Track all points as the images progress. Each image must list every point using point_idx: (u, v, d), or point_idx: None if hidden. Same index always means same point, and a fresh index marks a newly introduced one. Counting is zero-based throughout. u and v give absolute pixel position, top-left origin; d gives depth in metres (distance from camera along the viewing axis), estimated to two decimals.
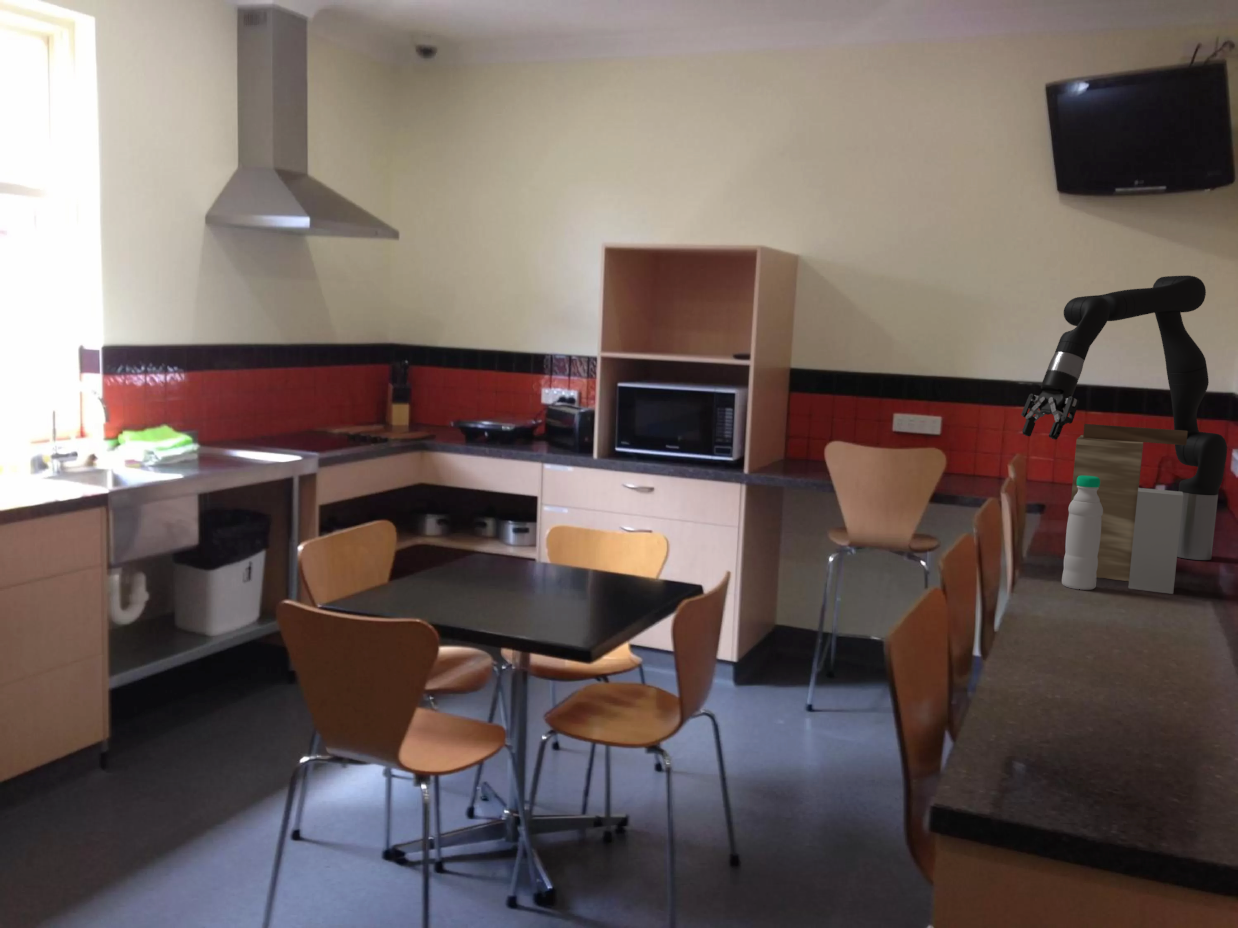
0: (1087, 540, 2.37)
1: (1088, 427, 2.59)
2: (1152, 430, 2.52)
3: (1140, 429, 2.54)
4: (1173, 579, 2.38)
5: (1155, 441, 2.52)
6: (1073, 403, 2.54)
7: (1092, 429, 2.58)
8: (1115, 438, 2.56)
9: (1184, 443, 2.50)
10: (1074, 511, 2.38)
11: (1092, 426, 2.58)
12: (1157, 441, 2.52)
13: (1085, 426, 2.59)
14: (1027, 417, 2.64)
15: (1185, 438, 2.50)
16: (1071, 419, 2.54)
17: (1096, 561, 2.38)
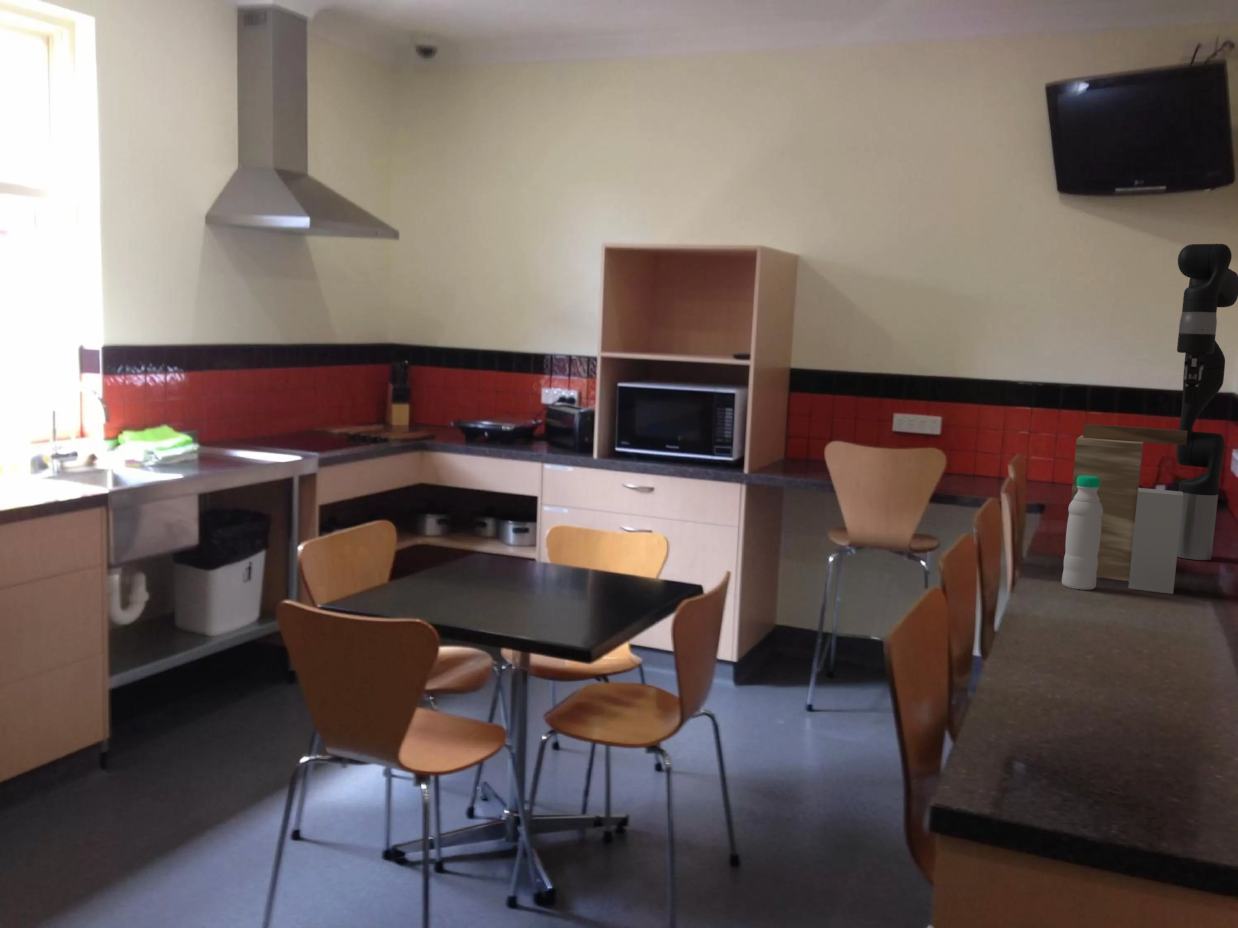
0: (1087, 540, 2.37)
1: (1088, 427, 2.59)
2: (1152, 430, 2.52)
3: (1140, 429, 2.54)
4: (1173, 579, 2.38)
5: (1155, 441, 2.52)
6: (1192, 363, 2.42)
7: (1092, 429, 2.58)
8: (1115, 438, 2.56)
9: (1184, 443, 2.50)
10: (1074, 511, 2.38)
11: (1092, 426, 2.58)
12: (1157, 441, 2.52)
13: (1085, 426, 2.59)
14: None
15: (1185, 438, 2.50)
16: (1195, 380, 2.42)
17: (1096, 561, 2.38)
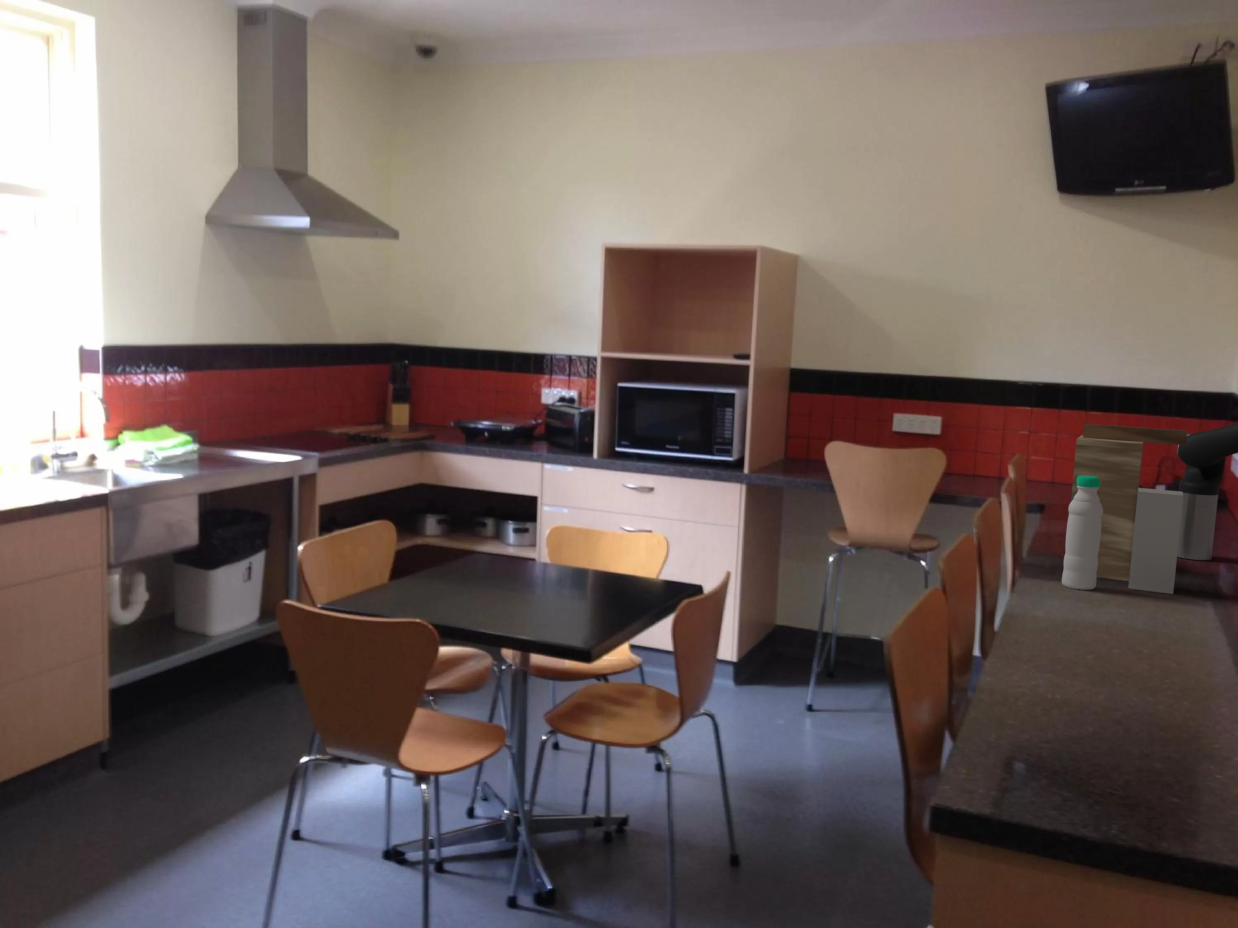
0: (1087, 540, 2.37)
1: (1088, 427, 2.59)
2: (1152, 430, 2.52)
3: (1140, 429, 2.54)
4: (1173, 579, 2.38)
5: (1155, 441, 2.52)
6: None
7: (1092, 429, 2.58)
8: (1115, 438, 2.56)
9: (1184, 443, 2.50)
10: (1074, 511, 2.38)
11: (1092, 426, 2.58)
12: (1157, 441, 2.52)
13: (1085, 426, 2.59)
14: None
15: (1185, 438, 2.50)
16: None
17: (1096, 561, 2.38)
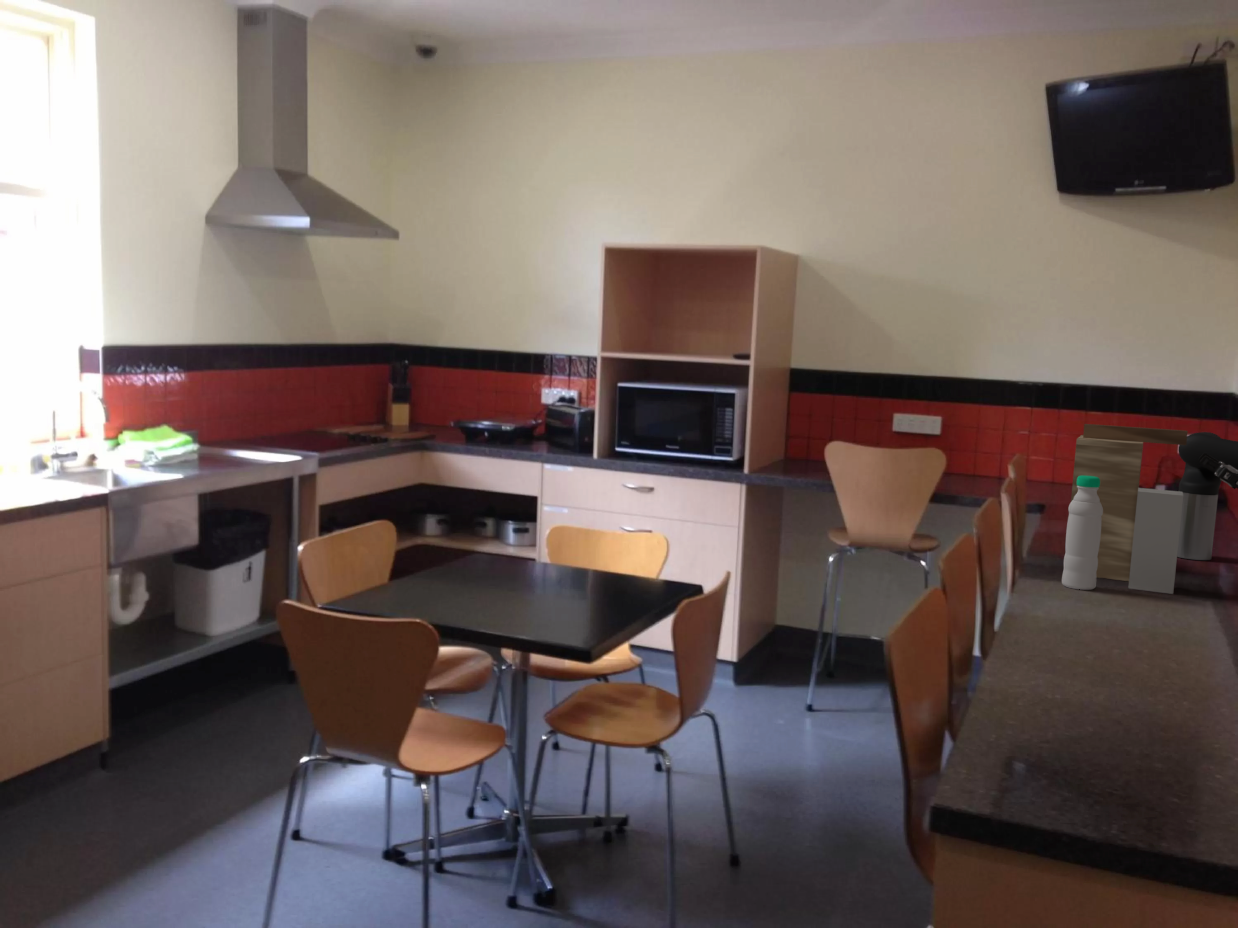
0: (1087, 540, 2.37)
1: (1088, 427, 2.59)
2: (1152, 430, 2.52)
3: (1140, 429, 2.54)
4: (1173, 579, 2.38)
5: (1155, 441, 2.52)
6: None
7: (1092, 429, 2.58)
8: (1115, 438, 2.56)
9: (1184, 443, 2.50)
10: (1074, 511, 2.38)
11: (1092, 426, 2.58)
12: (1157, 441, 2.52)
13: (1085, 426, 2.59)
14: (1221, 461, 2.52)
15: (1185, 438, 2.50)
16: (1222, 476, 2.42)
17: (1096, 561, 2.38)
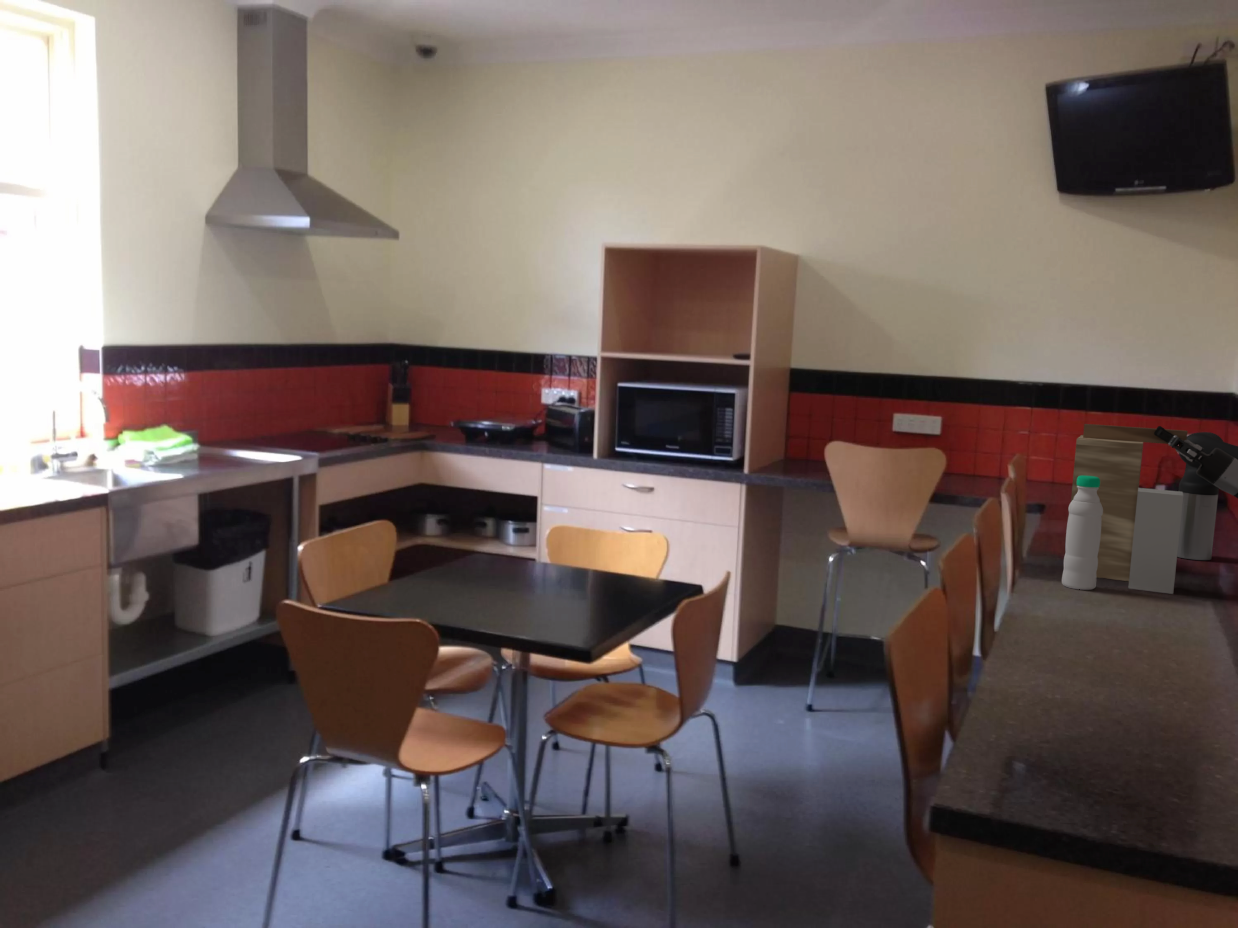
0: (1087, 540, 2.37)
1: (1088, 427, 2.59)
2: (1152, 430, 2.52)
3: (1140, 429, 2.54)
4: (1173, 579, 2.38)
5: (1155, 441, 2.52)
6: (1191, 450, 2.45)
7: (1092, 429, 2.58)
8: (1115, 438, 2.56)
9: None
10: (1074, 511, 2.38)
11: (1092, 426, 2.58)
12: (1157, 441, 2.52)
13: (1085, 426, 2.59)
14: None
15: (1185, 438, 2.50)
16: (1175, 446, 2.48)
17: (1096, 561, 2.38)
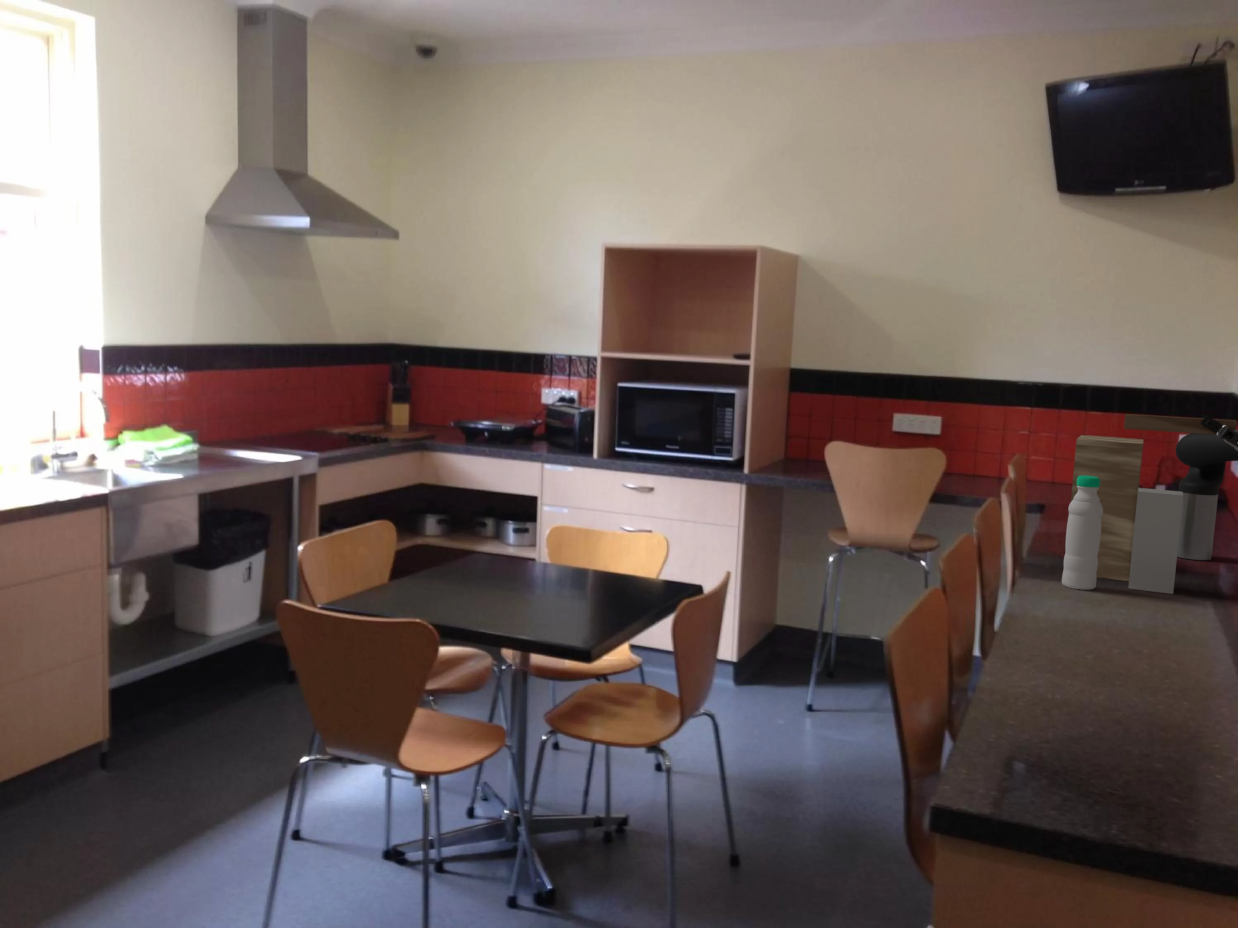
0: (1087, 540, 2.37)
1: (1129, 417, 2.43)
2: (1198, 420, 2.37)
3: (1185, 419, 2.38)
4: (1173, 579, 2.38)
5: (1202, 432, 2.37)
6: None
7: (1133, 419, 2.43)
8: (1158, 429, 2.41)
9: None
10: (1074, 511, 2.38)
11: (1133, 416, 2.43)
12: (1204, 432, 2.37)
13: (1126, 416, 2.43)
14: None
15: (1234, 428, 2.35)
16: (1225, 436, 2.33)
17: (1096, 561, 2.38)
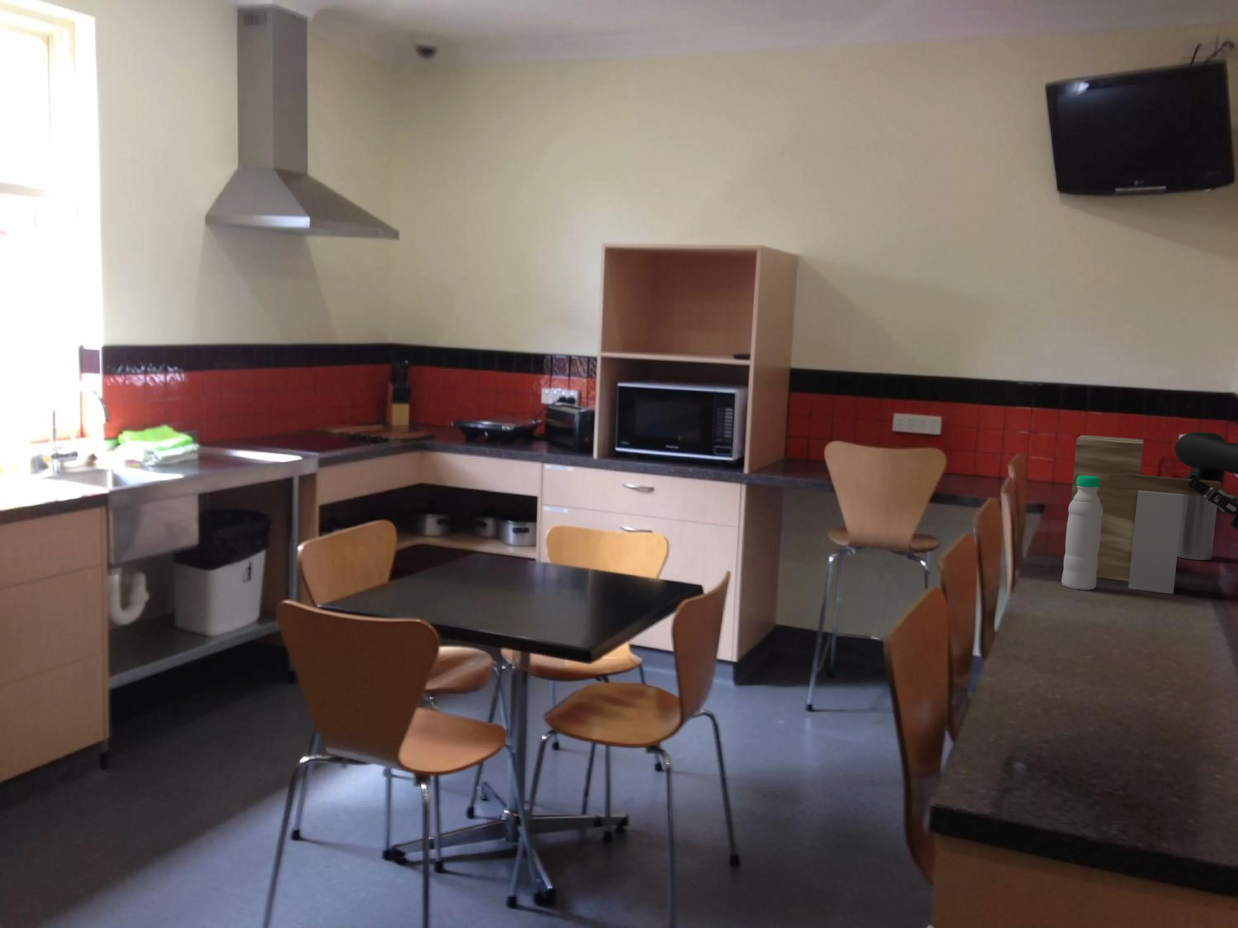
0: (1087, 540, 2.37)
1: (1114, 476, 2.44)
2: (1182, 481, 2.38)
3: (1170, 480, 2.39)
4: (1173, 579, 2.38)
5: (1186, 493, 2.38)
6: (1231, 505, 2.30)
7: (1118, 478, 2.44)
8: (1143, 489, 2.42)
9: None
10: (1074, 511, 2.38)
11: (1118, 475, 2.44)
12: (1188, 493, 2.38)
13: (1111, 475, 2.44)
14: None
15: None
16: (1212, 499, 2.31)
17: (1096, 561, 2.38)
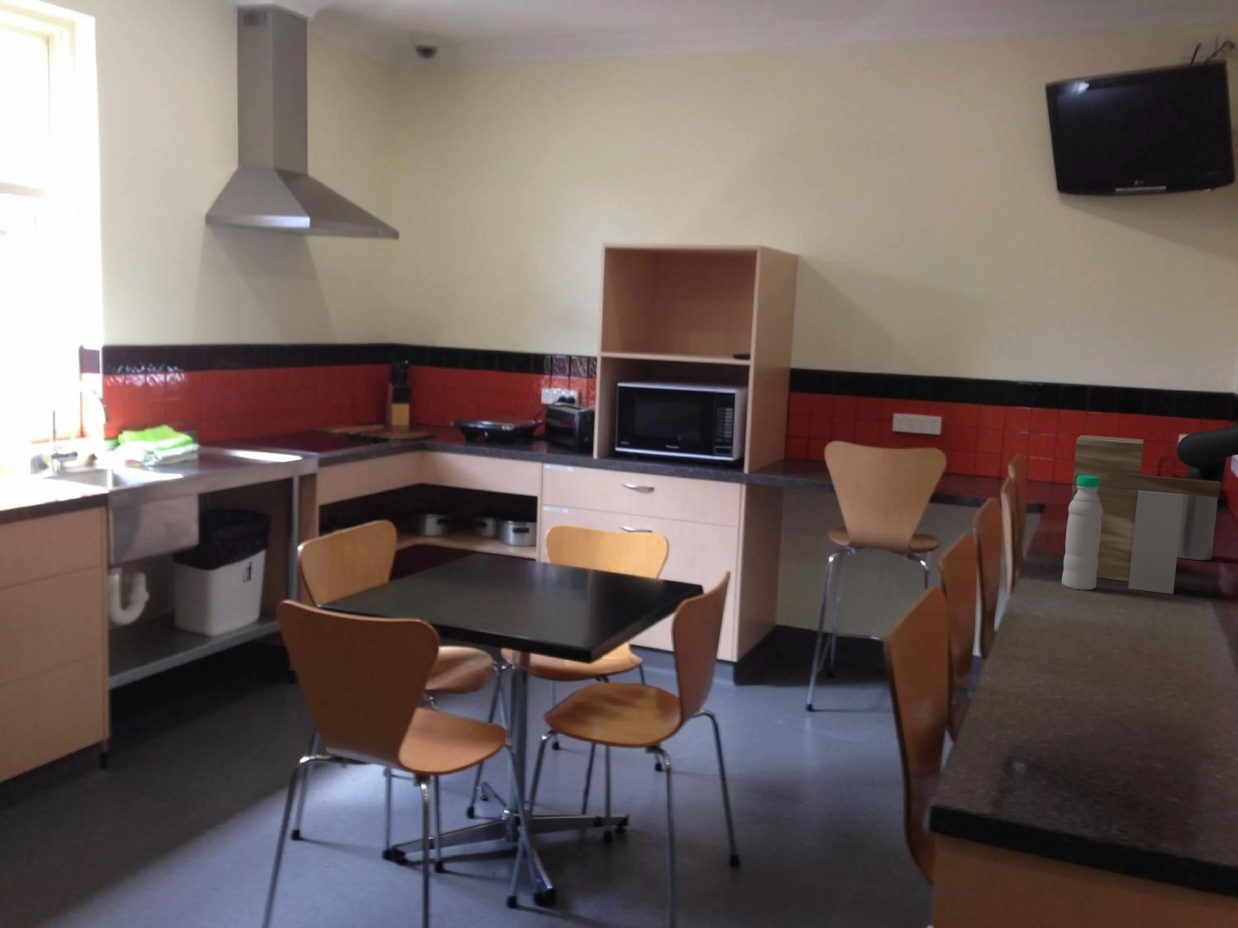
0: (1087, 540, 2.37)
1: (1114, 476, 2.44)
2: (1182, 481, 2.38)
3: (1170, 480, 2.39)
4: (1173, 579, 2.38)
5: (1186, 493, 2.38)
6: None
7: (1118, 478, 2.44)
8: (1143, 489, 2.42)
9: (1217, 495, 2.35)
10: (1074, 511, 2.38)
11: (1118, 475, 2.44)
12: (1188, 493, 2.38)
13: (1111, 475, 2.44)
14: None
15: (1218, 490, 2.35)
16: None
17: (1096, 561, 2.38)
